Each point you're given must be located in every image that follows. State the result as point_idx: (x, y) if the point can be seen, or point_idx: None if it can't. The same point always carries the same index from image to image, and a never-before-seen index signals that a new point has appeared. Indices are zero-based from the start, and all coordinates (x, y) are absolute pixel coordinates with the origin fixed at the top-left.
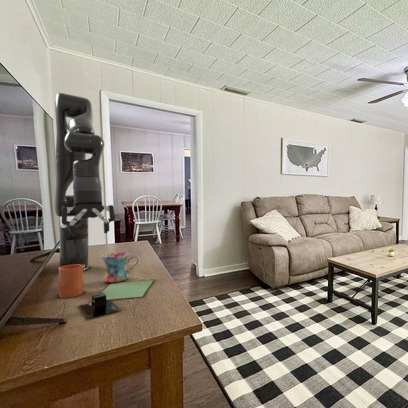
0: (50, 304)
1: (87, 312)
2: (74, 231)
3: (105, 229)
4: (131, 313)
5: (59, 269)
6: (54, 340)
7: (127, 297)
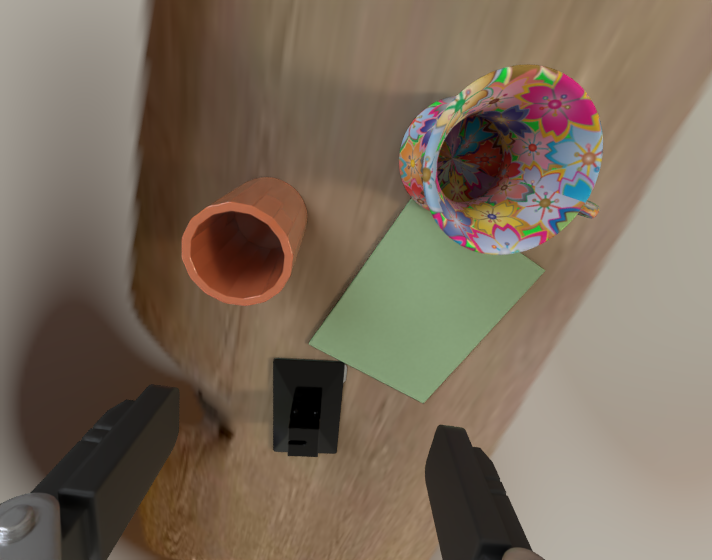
0: None
1: (277, 423)
2: (139, 487)
3: (440, 515)
4: (354, 476)
5: (186, 266)
6: (206, 496)
7: (391, 385)
